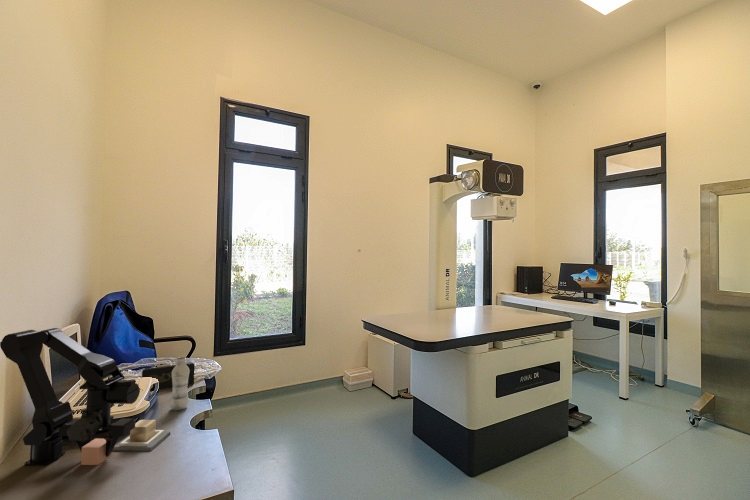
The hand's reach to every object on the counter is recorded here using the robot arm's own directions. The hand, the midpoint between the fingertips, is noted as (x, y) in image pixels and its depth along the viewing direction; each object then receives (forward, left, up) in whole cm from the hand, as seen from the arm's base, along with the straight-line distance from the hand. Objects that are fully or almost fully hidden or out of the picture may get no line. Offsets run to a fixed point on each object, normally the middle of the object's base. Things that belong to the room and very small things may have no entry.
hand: (96, 456), depth 101 cm
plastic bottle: (+5, +35, -1) cm, 35 cm away
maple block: (+7, +10, 0) cm, 12 cm away
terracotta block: (0, 0, -1) cm, 1 cm away
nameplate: (-13, +58, -1) cm, 59 cm away
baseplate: (+7, +10, -1) cm, 12 cm away
